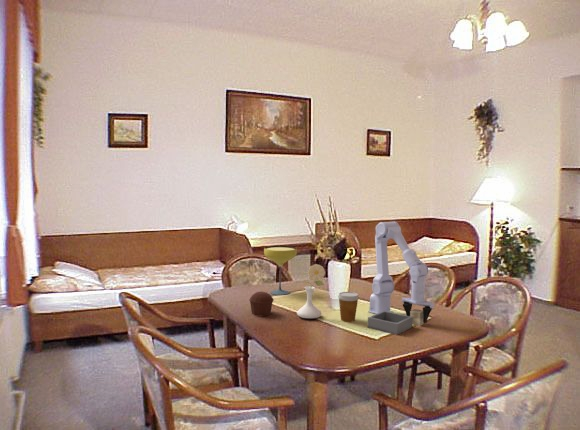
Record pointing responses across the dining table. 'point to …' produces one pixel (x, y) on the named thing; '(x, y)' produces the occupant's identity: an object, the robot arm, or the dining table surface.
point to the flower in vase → (309, 309)
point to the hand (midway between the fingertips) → (416, 320)
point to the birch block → (417, 317)
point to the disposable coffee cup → (348, 305)
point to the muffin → (261, 303)
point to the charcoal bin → (390, 322)
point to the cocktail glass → (280, 260)
